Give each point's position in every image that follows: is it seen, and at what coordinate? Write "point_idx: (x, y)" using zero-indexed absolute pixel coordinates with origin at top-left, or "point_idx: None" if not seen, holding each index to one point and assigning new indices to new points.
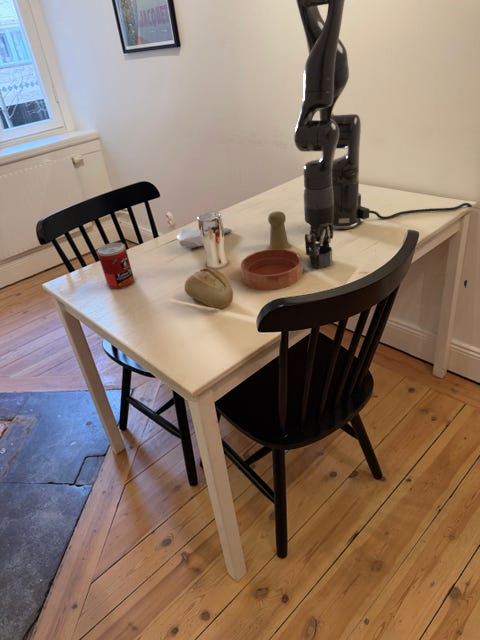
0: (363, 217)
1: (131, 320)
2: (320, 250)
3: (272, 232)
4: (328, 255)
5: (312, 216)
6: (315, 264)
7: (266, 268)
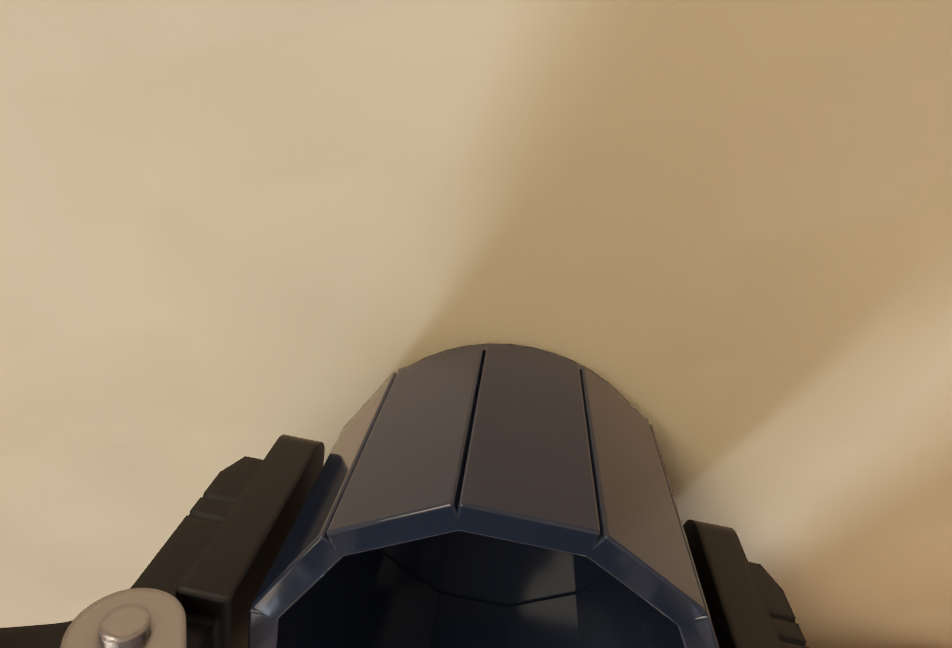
0: None
1: None
2: (322, 621)
3: None
4: (624, 508)
5: None
6: (780, 607)
7: None
